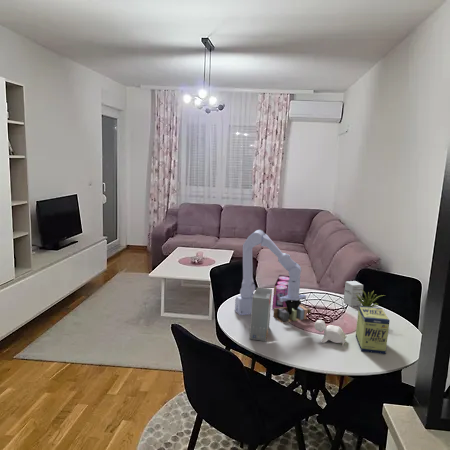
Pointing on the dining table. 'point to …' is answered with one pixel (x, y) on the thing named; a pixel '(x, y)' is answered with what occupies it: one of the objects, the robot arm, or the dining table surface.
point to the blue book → (300, 313)
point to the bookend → (283, 315)
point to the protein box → (372, 329)
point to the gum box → (280, 291)
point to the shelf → (286, 310)
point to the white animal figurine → (330, 332)
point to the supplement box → (352, 293)
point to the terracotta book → (304, 311)
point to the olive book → (293, 314)
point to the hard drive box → (260, 314)
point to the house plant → (369, 300)
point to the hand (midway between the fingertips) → (291, 313)
